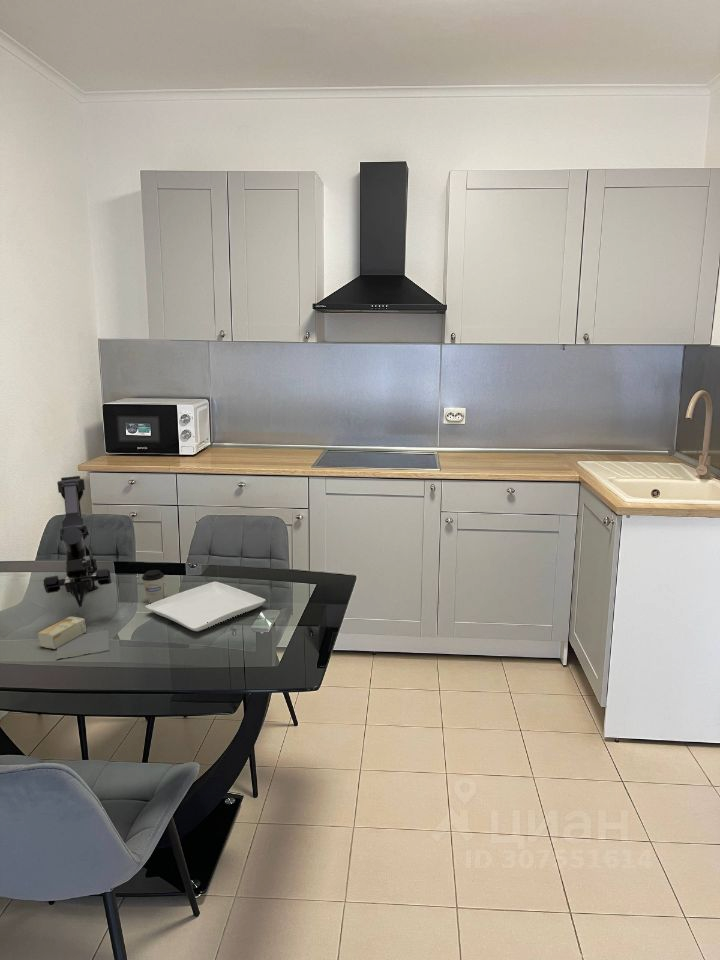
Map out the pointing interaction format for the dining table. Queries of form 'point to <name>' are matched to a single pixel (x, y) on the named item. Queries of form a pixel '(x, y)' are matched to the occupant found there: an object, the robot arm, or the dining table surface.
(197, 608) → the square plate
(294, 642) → the dining table surface
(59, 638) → the skincare box
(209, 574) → the dining table surface
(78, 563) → the robot arm
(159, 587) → the coffee cup
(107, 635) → the mat
